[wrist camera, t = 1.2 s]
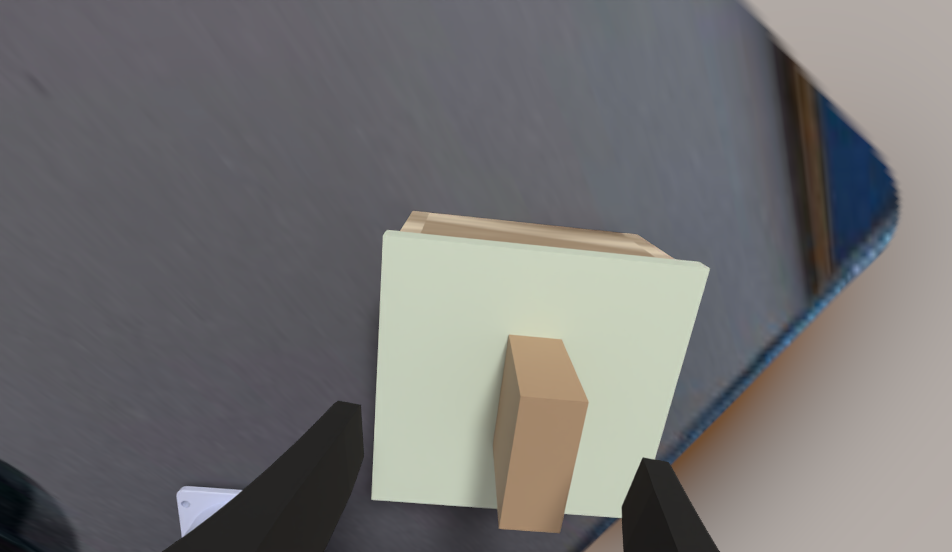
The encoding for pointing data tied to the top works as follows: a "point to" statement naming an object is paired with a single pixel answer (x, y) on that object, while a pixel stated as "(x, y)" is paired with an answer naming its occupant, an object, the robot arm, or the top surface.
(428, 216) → the box
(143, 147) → the top surface
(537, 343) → the lid
